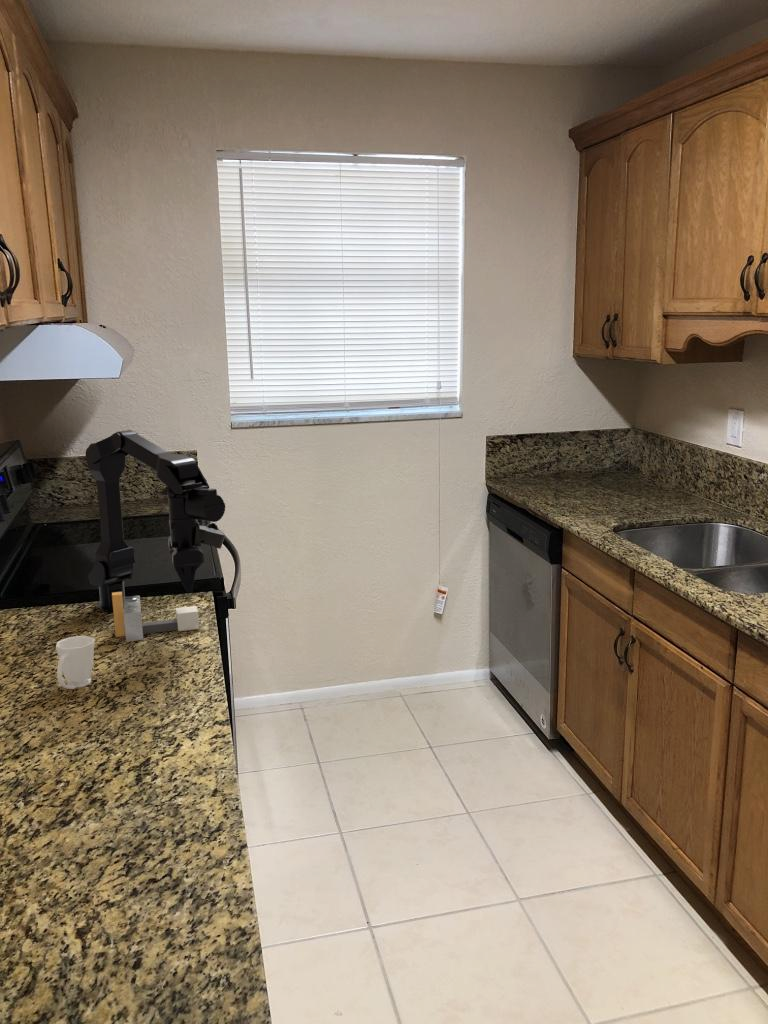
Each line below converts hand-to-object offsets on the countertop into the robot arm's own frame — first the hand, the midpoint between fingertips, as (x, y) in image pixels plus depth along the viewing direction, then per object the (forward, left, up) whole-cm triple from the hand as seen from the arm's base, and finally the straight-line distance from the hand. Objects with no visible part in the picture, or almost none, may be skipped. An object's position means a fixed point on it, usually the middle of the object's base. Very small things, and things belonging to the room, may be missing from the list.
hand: (187, 586), depth 180 cm
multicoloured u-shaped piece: (-3, -6, -9) cm, 12 cm away
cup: (+16, -30, -10) cm, 35 cm away
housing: (-6, -10, -10) cm, 15 cm away
